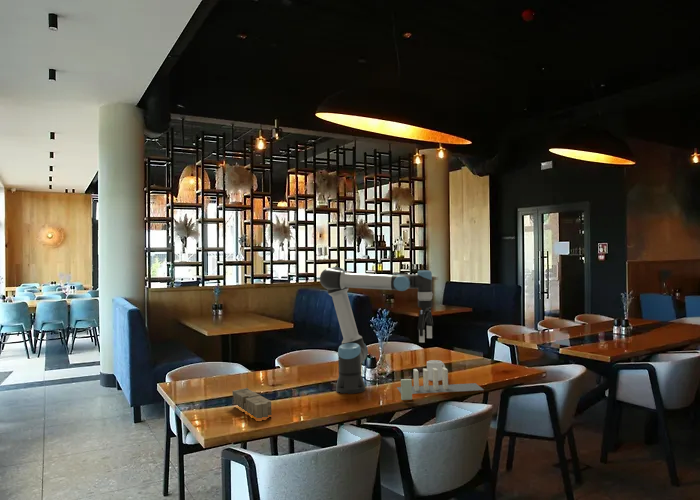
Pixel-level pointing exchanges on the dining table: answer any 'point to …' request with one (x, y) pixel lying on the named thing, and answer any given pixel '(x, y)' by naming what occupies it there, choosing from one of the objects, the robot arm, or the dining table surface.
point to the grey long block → (252, 402)
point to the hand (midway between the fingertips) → (425, 340)
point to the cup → (436, 365)
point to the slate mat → (450, 389)
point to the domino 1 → (406, 389)
